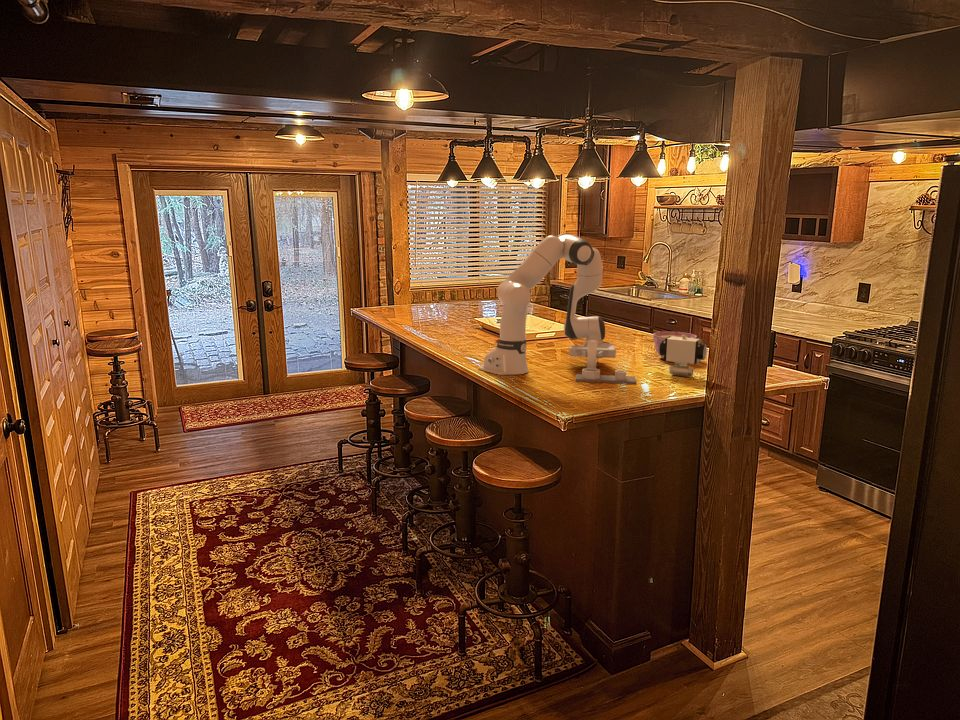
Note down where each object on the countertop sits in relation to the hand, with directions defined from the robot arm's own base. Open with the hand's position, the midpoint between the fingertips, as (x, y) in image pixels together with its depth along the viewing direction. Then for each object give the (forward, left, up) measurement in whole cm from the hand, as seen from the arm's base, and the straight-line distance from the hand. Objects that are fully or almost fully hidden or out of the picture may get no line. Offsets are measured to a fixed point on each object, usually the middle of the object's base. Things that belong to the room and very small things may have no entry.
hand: (591, 355), depth 284 cm
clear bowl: (+15, +52, -8) cm, 55 cm away
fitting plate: (+11, -7, -8) cm, 15 cm away
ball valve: (+32, +21, -8) cm, 39 cm away
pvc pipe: (0, +1, -8) cm, 8 cm away
